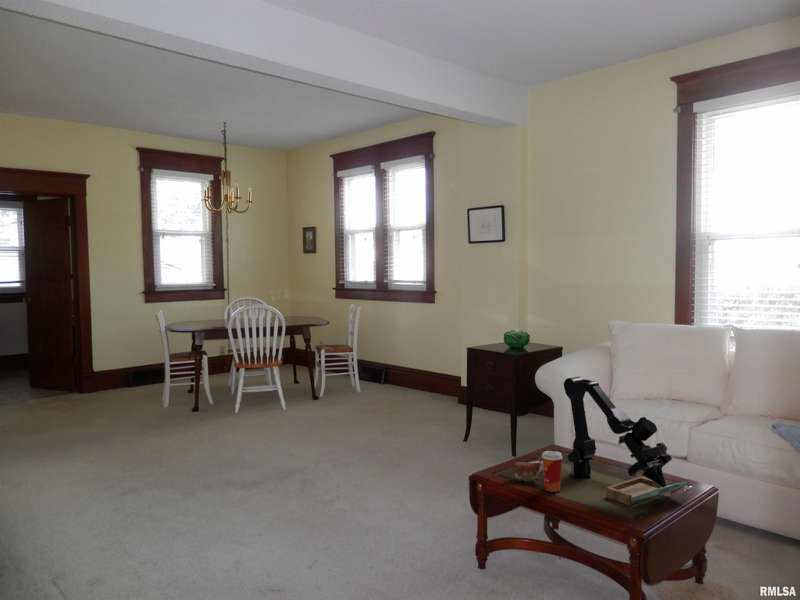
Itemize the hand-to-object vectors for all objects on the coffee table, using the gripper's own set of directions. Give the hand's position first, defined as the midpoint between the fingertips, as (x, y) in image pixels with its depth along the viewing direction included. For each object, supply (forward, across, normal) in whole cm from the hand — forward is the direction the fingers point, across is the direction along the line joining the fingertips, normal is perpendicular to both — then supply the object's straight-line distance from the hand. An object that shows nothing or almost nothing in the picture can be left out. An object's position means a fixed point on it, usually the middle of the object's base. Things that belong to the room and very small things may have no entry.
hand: (665, 486), depth 212 cm
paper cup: (-18, -21, +28) cm, 40 cm away
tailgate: (-1, 0, +8) cm, 8 cm away
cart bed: (-4, 0, +13) cm, 14 cm away
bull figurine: (-27, -20, +37) cm, 50 cm away
